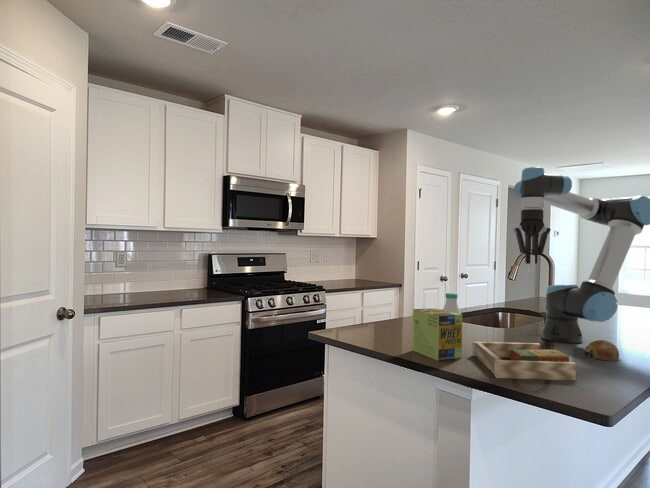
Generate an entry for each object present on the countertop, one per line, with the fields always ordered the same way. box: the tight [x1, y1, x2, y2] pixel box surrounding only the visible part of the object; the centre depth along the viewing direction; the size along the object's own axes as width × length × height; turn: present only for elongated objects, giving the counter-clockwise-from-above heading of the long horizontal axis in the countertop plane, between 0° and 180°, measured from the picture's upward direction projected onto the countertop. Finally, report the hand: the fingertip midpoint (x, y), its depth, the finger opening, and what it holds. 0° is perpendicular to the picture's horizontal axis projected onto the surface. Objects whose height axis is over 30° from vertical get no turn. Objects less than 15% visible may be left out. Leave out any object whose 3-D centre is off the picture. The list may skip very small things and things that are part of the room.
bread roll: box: [584, 339, 620, 362], centre depth 153 cm, size 10×10×8 cm
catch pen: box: [471, 341, 577, 381], centre depth 140 cm, size 23×25×5 cm
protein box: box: [411, 307, 463, 362], centre depth 154 cm, size 10×15×16 cm
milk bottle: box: [442, 292, 462, 314], centre depth 170 cm, size 8×8×20 cm
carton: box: [509, 349, 570, 362], centre depth 144 cm, size 8×16×4 cm, turn 89°
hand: (531, 272), depth 160 cm, fingers closed
